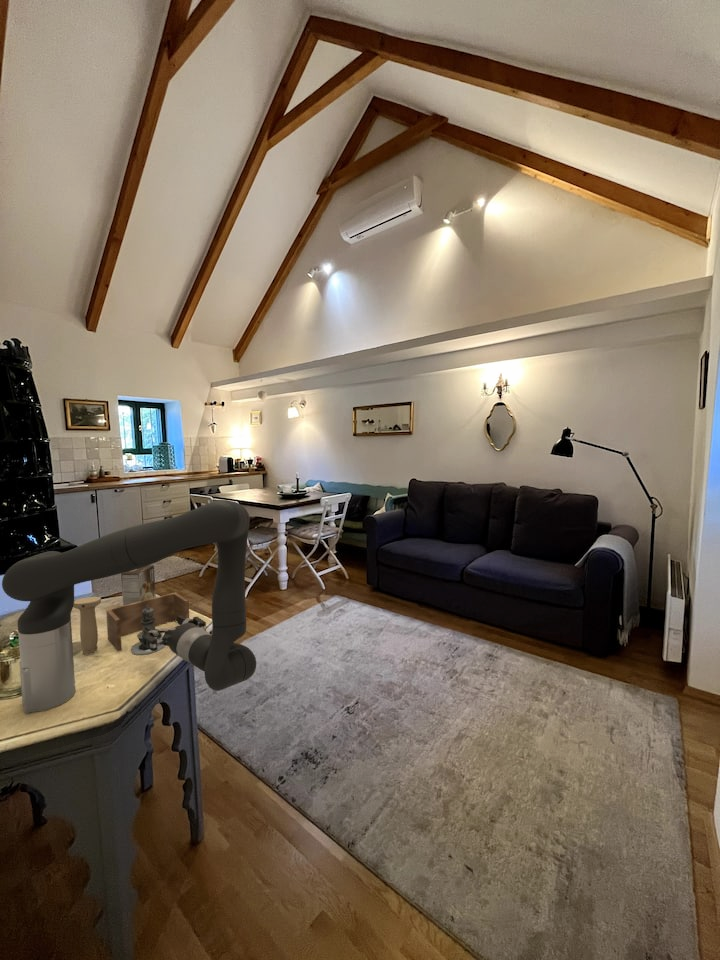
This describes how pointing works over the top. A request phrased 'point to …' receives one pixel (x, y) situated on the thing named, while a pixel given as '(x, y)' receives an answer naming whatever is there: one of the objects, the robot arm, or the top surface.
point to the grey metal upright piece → (146, 624)
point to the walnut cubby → (131, 615)
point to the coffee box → (138, 585)
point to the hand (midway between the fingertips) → (162, 624)
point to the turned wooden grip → (88, 623)
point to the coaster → (137, 651)
